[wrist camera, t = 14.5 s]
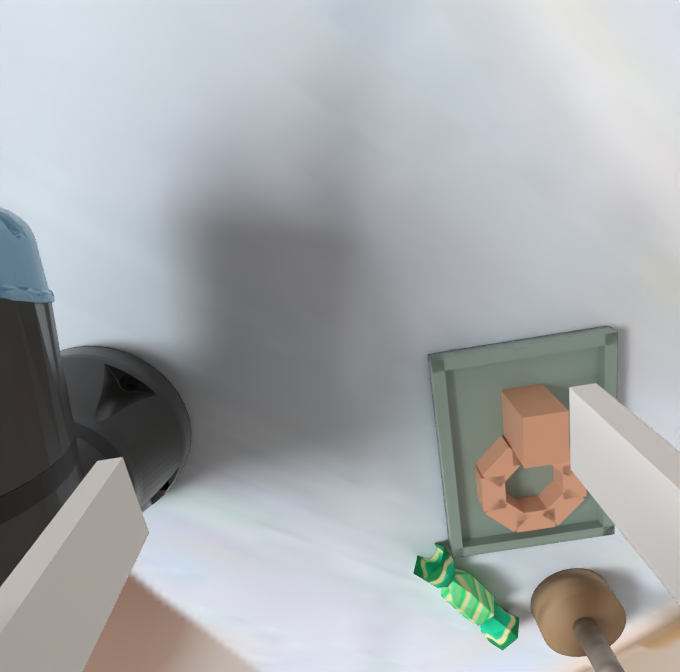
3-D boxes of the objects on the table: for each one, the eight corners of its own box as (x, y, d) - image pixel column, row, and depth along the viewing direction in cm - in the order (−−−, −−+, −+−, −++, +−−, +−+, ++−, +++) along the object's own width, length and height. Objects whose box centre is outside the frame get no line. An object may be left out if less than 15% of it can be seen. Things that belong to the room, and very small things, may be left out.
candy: (406, 569, 49) (432, 584, 45) (425, 539, 50) (452, 550, 47) (481, 637, 52) (511, 655, 48) (497, 606, 53) (527, 622, 50)
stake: (532, 635, 53) (597, 786, 40) (529, 575, 50) (598, 716, 38) (609, 624, 53) (700, 772, 40) (609, 563, 50) (707, 701, 37)
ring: (479, 522, 48) (496, 562, 43) (468, 395, 43) (486, 423, 39) (576, 507, 47) (603, 546, 43) (574, 378, 43) (605, 405, 38)
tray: (605, 522, 49) (614, 534, 47) (449, 545, 49) (453, 557, 48) (607, 325, 42) (617, 331, 41) (427, 354, 43) (431, 361, 41)
